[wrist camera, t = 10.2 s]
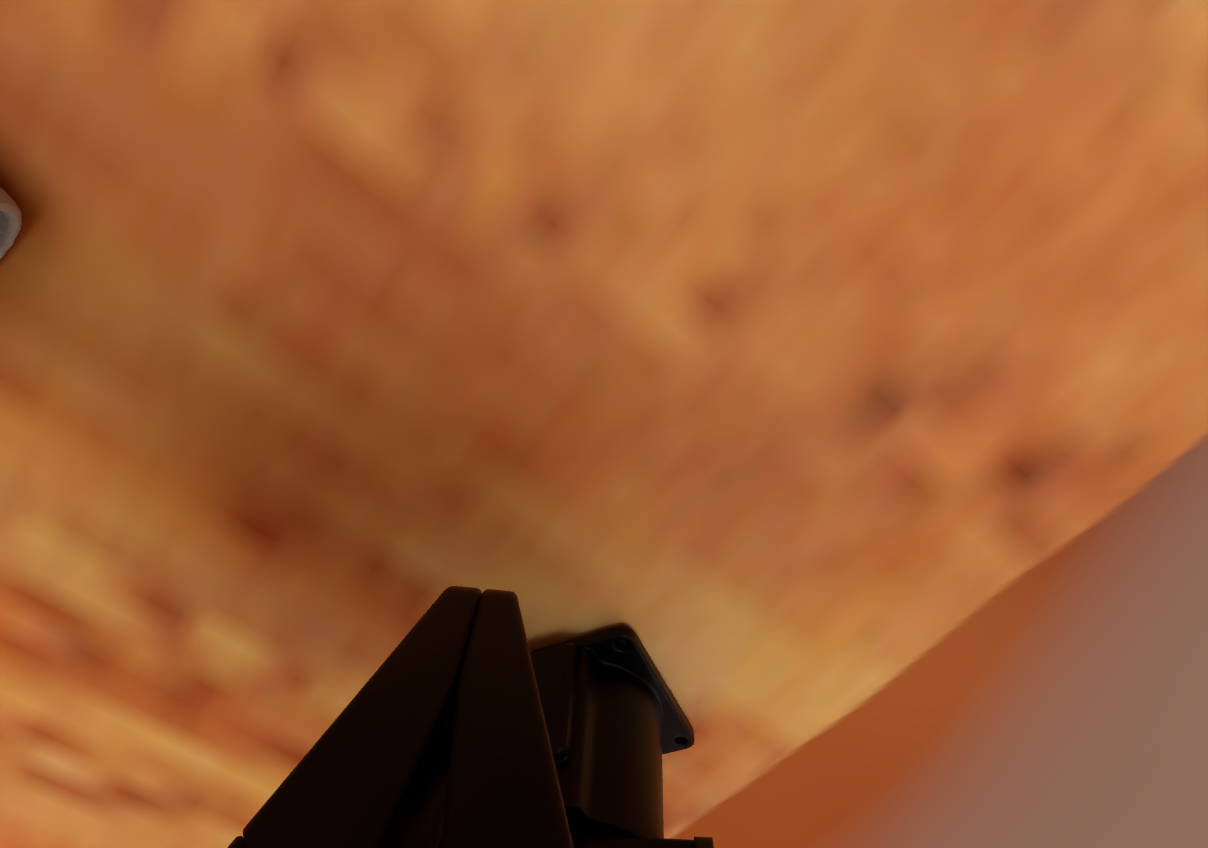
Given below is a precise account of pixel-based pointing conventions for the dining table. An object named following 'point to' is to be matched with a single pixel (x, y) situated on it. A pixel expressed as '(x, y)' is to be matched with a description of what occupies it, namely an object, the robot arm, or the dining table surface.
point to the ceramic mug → (8, 221)
